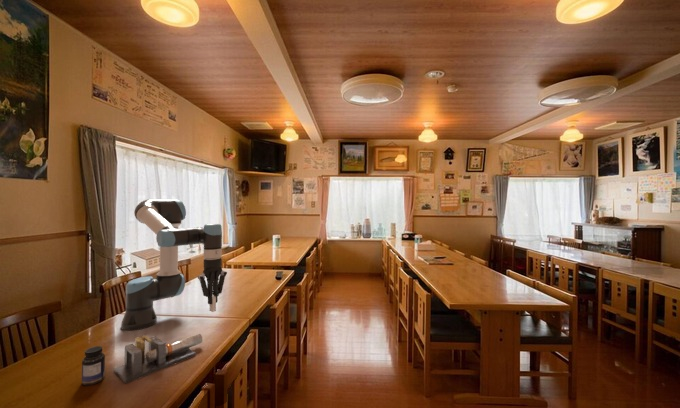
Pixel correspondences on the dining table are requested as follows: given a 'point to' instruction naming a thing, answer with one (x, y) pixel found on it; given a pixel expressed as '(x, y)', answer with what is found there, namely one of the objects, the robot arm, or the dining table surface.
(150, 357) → the air tube
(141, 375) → the grey mechanical fixture
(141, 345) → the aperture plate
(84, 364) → the pill bottle
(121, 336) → the dining table surface
